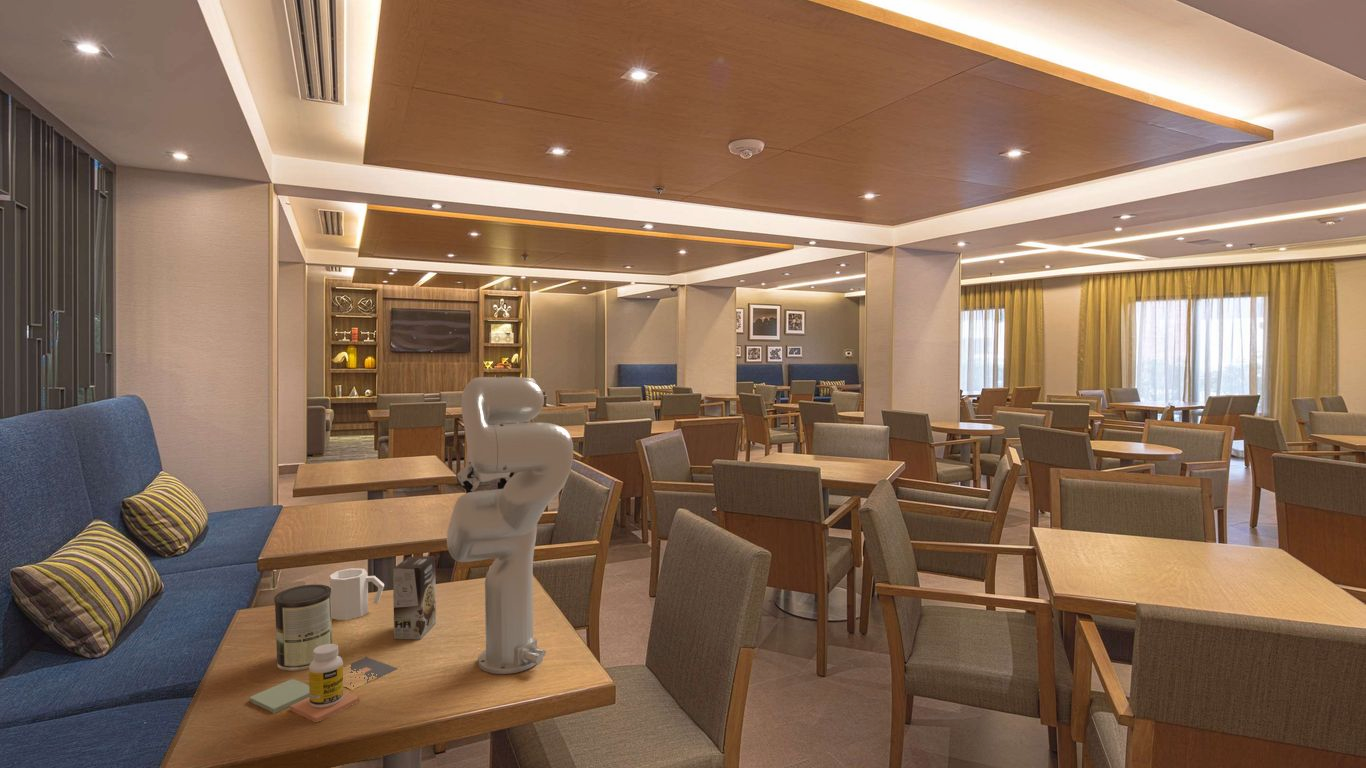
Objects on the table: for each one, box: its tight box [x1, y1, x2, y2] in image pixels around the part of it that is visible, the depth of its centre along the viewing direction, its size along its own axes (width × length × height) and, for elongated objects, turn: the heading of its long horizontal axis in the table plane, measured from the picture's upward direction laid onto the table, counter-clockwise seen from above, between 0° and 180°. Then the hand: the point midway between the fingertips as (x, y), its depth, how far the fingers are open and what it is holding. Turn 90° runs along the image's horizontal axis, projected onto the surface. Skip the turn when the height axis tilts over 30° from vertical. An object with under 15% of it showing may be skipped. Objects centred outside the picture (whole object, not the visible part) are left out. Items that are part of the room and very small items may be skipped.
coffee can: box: [273, 584, 333, 672], centre depth 141 cm, size 10×10×14 cm
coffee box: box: [392, 555, 437, 640], centre depth 155 cm, size 9×6×16 cm
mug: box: [329, 567, 385, 621], centre depth 166 cm, size 12×9×10 cm
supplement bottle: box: [308, 643, 344, 708], centre depth 123 cm, size 5×5×10 cm
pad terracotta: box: [289, 690, 360, 723], centre depth 123 cm, size 8×8×1 cm
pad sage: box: [248, 678, 310, 714], centre depth 127 cm, size 8×8×1 cm
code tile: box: [350, 656, 399, 687], centre depth 136 cm, size 10×10×1 cm
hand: (488, 503), depth 159 cm, fingers open, 9 cm apart
